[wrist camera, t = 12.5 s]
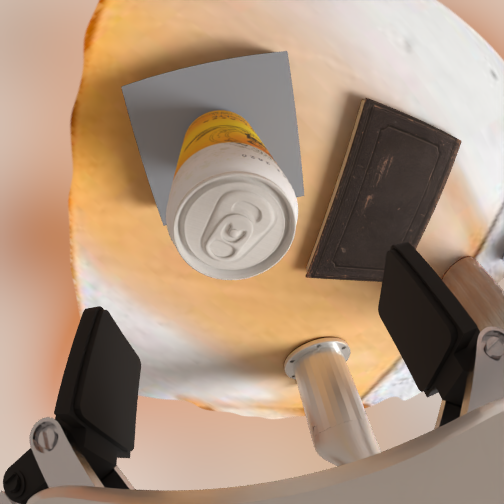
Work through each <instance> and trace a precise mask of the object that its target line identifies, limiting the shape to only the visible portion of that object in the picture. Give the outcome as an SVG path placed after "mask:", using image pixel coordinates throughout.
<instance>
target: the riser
mask: <svg viewBox="0 0 504 504" xmlns="http://www.w3.org/2000/svg"><path fill="white" fill-rule="evenodd" d="M122 91H123V95H124V99H125V103H126V106H127V110H128V114H129V117H130V121H131V125H132V128H133V132H134V135H135V139H136V142H137V145H138V149H139V152H140V155H141V159H142V162H143V165H144V168H145V171H146V175H147V178H148V181H149V184H150V187H151V190H152V193H153V196H154V199H155V202H156V205H157V208H158V211H159V214H160V217H161V219H162V222H163V225H167V223H166V210H167V204H168V200H169V195H170V191H171V187H172V183H173V179H174V175H175V171H176V167H177V163H178V159H179V155H180V152H181V148H182V144H183V141H184V137H185V134H186V132H187V130H188V128H189V126H190V125H191V124H192V123H193V122H194V121H195V120H196V119H197V118H198V117H200V116H201V115H203V114H205V113H208V112H211V111H216V110H225V111H230V112H233V113H236V114H238V115H240V116H241V117H243V118H244V119H245V120H246V121H247V122H248V123H249V124H250V126H251V127H252V129H253V130H254V131H255V133H256V134H257V136H258V137H259V138H260V140H261V141H262V143H263V144H264V146H265V147H266V148H267V150H268V151H269V153H270V154H271V156H272V157H273V159H274V160H275V162H276V163H277V164H278V166H279V167H280V169H281V170H282V172H283V173H284V175H285V176H286V178H287V179H288V181H289V183H290V184H291V186H292V188H293V190H294V192H295V195H296V197H300V196H304V187H303V176H302V165H301V155H300V145H299V136H298V127H297V119H296V110H295V102H294V95H293V87H292V80H291V73H290V66H289V59H288V53H287V51H283V52H273V53H265V54H257V55H250V56H243V57H237V58H231V59H225V60H220V61H214V62H209V63H205V64H200V65H195V66H191V67H187V68H183V69H179V70H175V71H171V72H167V73H164V74H160V75H156V76H153V77H150V78H146V79H143V80H140V81H137V82H134V83H131V84H128V85H125V86H122Z"/></svg>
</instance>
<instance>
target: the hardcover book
mask: <svg viewBox="0 0 504 504" xmlns="http://www.w3.org/2000/svg"><path fill="white" fill-rule="evenodd" d="M460 144H461V140H459V139H457V138H455V137H453V136H451V135H449V134H447V133H445V132H443V131H441V130H439V129H437V128H435V127H433V126H431V125H429V124H427V123H425V122H423V121H421V120H419V119H416V118H414V117H412V116H410V115H407V114H405V113H403V112H400V111H398V110H396V109H393V108H391V107H388V106H386V105H383V104H381V103H378V102H376V101H373V100H370V99H367V98H366V99H365V100H362V101H361V105H360V108H359V112H358V115H357V118H356V122H355V125H354V129H353V132H352V135H351V138H350V142H349V145H348V148H347V151H346V155H345V158H344V161H343V164H342V167H341V170H340V173H339V176H338V179H337V182H336V185H335V188H334V191H333V194H332V197H331V200H330V203H329V206H328V209H327V212H326V215H325V218H324V220H323V223H322V226H321V229H320V232H319V234H318V237H317V240H316V243H315V246H314V248H313V251H312V254H311V256H310V259H309V262H308V264H307V267H306V269H307V274H306V277H307V278H323V279H340V280H358V281H378V282H383V275H384V268H385V260H386V253H387V251H389V250H390V248H391V246H392V245H395V244H399V243H403V242H409V243H410V244H411V245H412V246H413V247H414V248H415V249H416V247H417V245H418V243H419V241H420V239H421V237H422V235H423V233H424V231H425V229H426V227H427V225H428V223H429V220H430V218H431V216H432V214H433V212H434V210H435V207H436V205H437V203H438V200H439V198H440V196H441V194H442V191H443V189H444V186H445V184H446V181H447V179H448V176H449V174H450V171H451V169H452V166H453V164H454V161H455V158H456V156H457V153H458V150H459V147H460Z"/></svg>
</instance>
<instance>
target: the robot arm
mask: <svg viewBox="0 0 504 504" xmlns="http://www.w3.org/2000/svg"><path fill="white" fill-rule="evenodd" d="M378 311H379V315H380V318H381V319H382V321H383V323H384V325H385V326H386V328H387V330H388V332H389V334H390V335H391V337H392V339H393V341H394V343H395V345H396V346H397V348H398V350H399V352H400V354H401V356H402V358H403V360H404V362H405V363H406V365H407V367H408V369H409V371H410V373H411V375H412V377H413V379H414V381H415V383H416V385H417V387H418V389H419V390H420V391H422V392H423V391H424V392H425V394H426V396H427V397H429V396H431V395H434V394H436V393H438V392H439V394H440V396H441V398H442V403H441V407H440V410H439V414H438V418H437V422H436V425H435V428H434V430H432V431H431V432H428V433H426V434H424V435H422V436H419V437H417V438H415V439H413V440H410V441H408V442H406V443H403V444H401V445H398V446H396V447H393V448H391V449H389V450H386V451H383V452H381V450H380V448H379V446H378V443H377V441H376V438H375V436H374V433H373V431H372V428H371V425H370V422H369V420H368V417H367V414H366V412H365V409H364V406H363V404H362V401H361V399H360V396H359V393H358V391H357V388H356V386H355V383H354V381H353V378H352V375H351V373H350V370H349V368H348V365H347V363H346V361H347V360H348V358H349V356H350V348H349V345H348V344H347V342H345V341H344V340H342V339H340V338H321V339H317V340H313V341H310V342H308V343H306V344H303V345H302V346H300V347H298V348H297V349H295V350H294V351H293V352H292V353H291V354H290V355H289V356H288V357H287V358H286V360H285V362H284V369H285V373H286V374H287V376H289V377H290V378H292V379H295V380H296V381H297V385H298V388H299V392H300V396H301V400H302V403H303V407H304V411H305V414H306V418H307V422H308V425H309V429H310V433H311V437H312V441H313V444H314V447H315V450H316V451H317V453H318V454H319V455H320V456H321V457H322V458H323V459H325V460H327V461H328V462H330V463H332V464H334V465H336V466H338V467H334V468H331V469H327V470H323V471H320V472H316V473H312V474H307V475H303V476H299V477H294V478H289V479H285V480H279V481H274V482H267V483H261V484H254V485H247V486H240V487H230V488H219V489H205V490H184V491H183V490H181V491H159V490H156V491H155V490H136V489H135V488H134V487H133V486H132V484H131V483H130V482H129V481H128V479H127V478H126V477H125V475H124V474H123V473H122V471H121V470H120V469H119V467H118V466H117V465H116V460H117V457H118V458H130V451H132V450H133V449H134V440H135V423H136V410H137V399H138V388H139V379H140V370H141V362H140V359H139V357H138V355H137V354H136V353H135V351H134V350H133V348H132V347H131V345H130V344H129V342H128V341H127V340H126V338H125V337H124V335H123V334H122V332H121V330H120V329H119V327H118V326H117V324H116V323H115V321H114V320H113V318H112V317H111V315H110V313H109V312H108V311H107V310H104V309H103V308H102V307H93V308H88V309H85V310H84V312H83V314H82V317H81V320H80V323H79V326H78V329H77V332H76V335H75V338H74V341H73V344H72V348H71V351H70V354H69V357H68V361H67V365H66V368H65V371H64V375H63V379H62V383H61V386H60V390H59V394H58V399H57V402H56V407H55V411H54V414H55V415H56V417H55V419H53V418H49V417H47V418H43V419H41V420H39V421H38V422H37V423H36V424H35V425H34V427H33V428H32V430H31V433H30V445H31V448H30V449H29V450H28V451H27V452H26V453H25V454H24V455H23V456H21V457H20V458H19V459H18V460H17V461H16V462H15V463H14V464H13V465H12V466H10V467H9V468H8V469H7V471H6V472H5V475H4V479H3V486H4V490H5V492H4V491H1V493H0V504H504V330H503V329H501V328H499V327H492V326H491V327H487V328H485V329H483V330H482V331H481V332H480V330H479V329H478V326H477V325H476V323H475V322H474V321H473V319H472V318H471V317H470V315H469V314H468V313H467V311H466V310H465V309H464V307H463V306H462V305H461V303H460V302H459V301H458V299H457V298H456V297H455V296H454V294H453V293H452V292H451V291H450V289H449V288H448V287H447V286H446V285H445V283H444V282H443V281H442V280H441V278H440V277H439V276H438V275H437V274H436V272H435V271H434V270H433V269H432V268H431V267H430V265H429V264H428V263H427V262H426V261H425V260H424V259H423V257H422V256H421V255H420V254H419V253H418V252H417V251H416V250H415V248H414V247H413V246H412V245H411V244H410V243H409V242H403V243H399V244H395V245H392V246H391V248H390V250H389V251H387V253H386V260H385V268H384V275H383V282H382V288H381V294H380V300H379V306H378Z"/></svg>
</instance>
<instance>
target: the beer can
mask: <svg viewBox="0 0 504 504" xmlns="http://www.w3.org/2000/svg"><path fill="white" fill-rule="evenodd" d="M297 218H298V204H297V198H296V195H295V192H294V190H293V188H292V186H291V184H290V183H289V181H288V179H287V178H286V176H285V175H284V173H283V172H282V170H281V169H280V167H279V166H278V164H277V163H276V162H275V160H274V159H273V157H272V156H271V154H270V153H269V151H268V150H267V148H266V147H265V146H264V144H263V143H262V141H261V140H260V138H259V137H258V136H257V134H256V133H255V131H254V130H253V129H252V127H251V126H250V124H249V123H248V122H247V121H246V120H245V119H244V118H243V117H241V116H240V115H238V114H236V113H233V112H230V111H225V110H216V111H211V112H208V113H205V114H203V115H201V116H200V117H198V118H197V119H196V120H195V121H194V122H193V123H192V124H191V125H190V126H189V128H188V130H187V132H186V134H185V137H184V141H183V144H182V148H181V152H180V155H179V159H178V163H177V167H176V171H175V175H174V179H173V183H172V187H171V191H170V195H169V200H168V204H167V210H166V223H167V229H168V232H169V235H170V237H171V240H172V241H173V243H174V245H175V246H176V248H177V250H178V252H179V253H180V255H181V257H182V258H183V259H184V260H185V262H186V263H187V264H188V265H190V266H191V267H192V268H193V269H195V270H196V271H198V272H200V273H202V274H204V275H206V276H209V277H212V278H216V279H222V280H240V279H246V278H250V277H253V276H256V275H258V274H261V273H263V272H265V271H267V270H268V269H270V268H271V267H273V266H274V265H275V264H277V263H278V262H279V261H280V260H281V259H282V258H283V256H284V255H285V254H286V253H287V251H288V249H289V248H290V246H291V244H292V241H293V239H294V235H295V230H296V223H297Z"/></svg>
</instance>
